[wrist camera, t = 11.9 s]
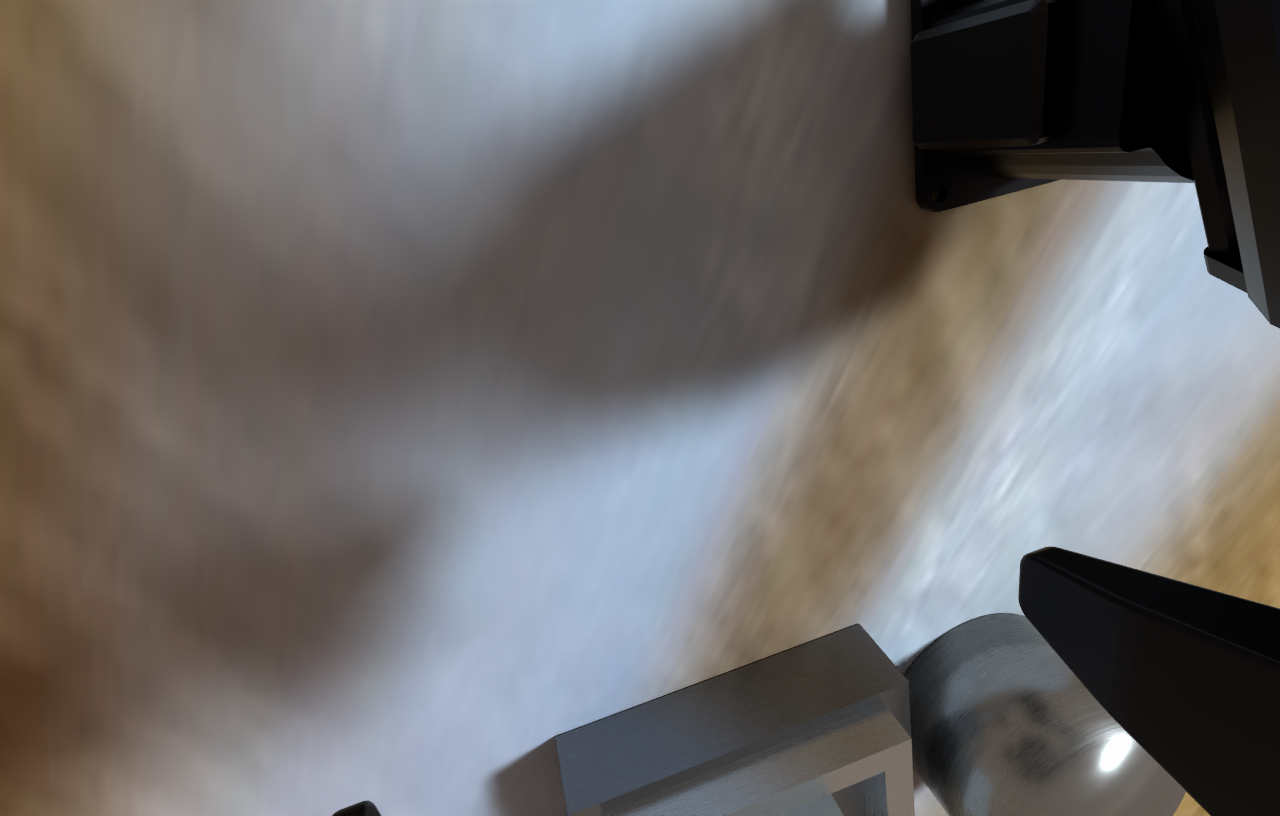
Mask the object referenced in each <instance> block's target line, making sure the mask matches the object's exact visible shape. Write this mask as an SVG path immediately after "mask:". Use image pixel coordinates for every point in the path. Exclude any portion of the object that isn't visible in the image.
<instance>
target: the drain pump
mask: <svg viewBox="0 0 1280 816" xmlns="http://www.w3.org/2000/svg"><path fill="white" fill-rule="evenodd" d="M778 816H844V815H843V814H842V812H841V810H840V808H839V807H838V805H837V803H836V802H835V800H834V798H833V796H832V795H831V794H829V795H827V796H824V797H822V798H819V799H817V800H815V801H812V802H810V803H807V804H805V805H803V806H800V807H798V808H795V809H793V810H790V811H788V812H786V813H783V814H781V815H778Z"/></svg>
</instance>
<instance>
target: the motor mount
mask: <svg viewBox="0 0 1280 816" xmlns="http://www.w3.org/2000/svg"><path fill="white" fill-rule="evenodd" d="M555 739H556V746H557V752H558V759H559V765H560V771H561V778H562V784H563V791H564V797H565V803H566V810H567V816H778V815H781V814H783V813H786V812H788V811H790V810H793V809H795V808H798V807H800V806H803V805H805V804H807V803H810V802H812V801H815V800H817V799H819V798H822V797H824V796H827V795H829V794H831V795H832V796H833V798H834V800H835V802H836V803H837V805H838V807H839V808H840V810H841V812H842V814H843V815H844V816H915V811H914V787H913V768H914V769H915V770H916V772H917V773H918V774H919V776H920V777H921V778H922V780H923V781H924V783H925V784H926V785H927V787H928V788H929V789H930V791H931V792H932V793H933V795H934V796H935V797H936V799H937V800H938V801H939V803H940V804H941V805H942V807H943V808H944V810H945V811H946V812H947V814H948V815H949V816H1173V814H1174V813H1175V811H1176V810H1177V808H1178V806H1179V804H1180V803H1181V801H1182V799H1183V797H1184V794H1185V792H1186V791H1185V790H1184V789H1183V788H1182V787H1181V786H1180V785H1179V784H1178V783H1177V782H1176V781H1175V780H1174V779H1173V778H1172V777H1171V776H1170V775H1169V774H1168V773H1167V772H1166V771H1165V770H1164V769H1163V768H1162V767H1161V766H1160V765H1159V764H1158V763H1157V762H1156V761H1155V760H1154V759H1153V758H1152V757H1151V756H1150V755H1149V754H1148V753H1147V752H1146V751H1145V750H1144V749H1143V748H1142V747H1141V746H1140V745H1139V744H1138V743H1137V742H1136V741H1135V740H1134V739H1133V738H1132V737H1131V736H1130V735H1129V734H1128V733H1127V732H1126V731H1125V730H1124V729H1123V728H1122V727H1121V726H1120V725H1119V724H1118V723H1117V722H1116V721H1115V720H1114V719H1113V718H1112V717H1111V716H1110V715H1109V713H1108V712H1107V711H1106V710H1105V709H1104V708H1103V707H1102V706H1101V705H1100V703H1099V702H1098V701H1097V700H1096V699H1095V698H1094V697H1093V696H1092V694H1091V693H1090V692H1089V691H1088V690H1087V689H1086V687H1085V686H1084V685H1083V684H1082V683H1081V681H1080V680H1079V679H1078V678H1077V677H1076V676H1075V674H1074V673H1073V672H1072V671H1071V670H1070V669H1069V667H1068V666H1067V665H1066V664H1065V663H1064V661H1063V660H1062V659H1061V658H1060V657H1059V656H1058V654H1057V653H1056V652H1055V651H1054V650H1053V649H1052V647H1051V646H1050V645H1049V644H1048V643H1047V641H1046V640H1045V639H1044V638H1043V637H1042V636H1041V634H1040V633H1039V632H1038V631H1037V630H1036V629H1035V627H1034V626H1033V625H1032V624H1031V623H1030V621H1029V620H1028V619H1027V618H1026V617H1025V616H1022V615H1018V614H1011V613H1000V614H992V615H987V616H983V617H979V618H976V619H973V620H971V621H969V622H966V623H964V624H962V625H960V626H958V627H956V628H954V629H953V630H951V631H949V632H948V633H946V634H945V635H943V636H942V637H940V638H939V639H938V640H936V641H935V642H934V643H933V644H932V645H930V646H929V647H928V648H927V649H926V650H925V651H924V652H923V653H922V654H921V655H920V656H919V657H918V658H917V659H916V660H915V662H914V663H913V664H912V665H911V666H910V668H909V669H908V671H907V672H906V673H905V675H903V674H902V673H901V672H900V671H899V670H898V668H897V667H896V666H895V665H894V664H893V663H892V661H891V660H890V659H889V658H888V657H887V656H886V654H885V653H884V652H883V651H882V650H881V649H880V647H879V646H878V645H877V644H876V643H875V641H874V640H873V639H872V638H871V637H870V636H869V634H868V633H867V632H866V631H865V630H864V629H863V627H862V626H861V625H860V624H857V625H854V626H851V627H849V628H846V629H843V630H841V631H838V632H835V633H833V634H830V635H827V636H825V637H822V638H819V639H817V640H814V641H811V642H809V643H806V644H803V645H800V646H798V647H795V648H792V649H790V650H787V651H784V652H782V653H779V654H776V655H774V656H771V657H768V658H766V659H763V660H760V661H757V662H755V663H752V664H749V665H747V666H744V667H741V668H739V669H736V670H733V671H731V672H728V673H725V674H723V675H720V676H717V677H715V678H712V679H709V680H706V681H704V682H701V683H698V684H696V685H693V686H690V687H688V688H685V689H682V690H680V691H677V692H674V693H672V694H669V695H666V696H664V697H661V698H658V699H655V700H653V701H650V702H647V703H645V704H642V705H639V706H637V707H634V708H631V709H629V710H626V711H623V712H621V713H618V714H615V715H613V716H610V717H607V718H604V719H602V720H599V721H596V722H594V723H591V724H588V725H586V726H583V727H580V728H578V729H575V730H572V731H570V732H567V733H564V734H562V735H559V736H556V737H555Z"/></svg>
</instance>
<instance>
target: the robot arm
mask: <svg viewBox="0 0 1280 816" xmlns="http://www.w3.org/2000/svg"><path fill="white" fill-rule="evenodd" d="M911 22H912V44H911V74H912V113H913V141H914V143H915V184H916V200H917V204H918V205H919V207H920V208H921V209H923V210H925V211H932V212H941V211H945V210H948V209H952V208H956V207H959V206H963V205H967V204H971V203H974V202H978V201H982V200H986V199H989V198H993V197H997V196H1001V195H1004V194H1008V193H1012V192H1016V191H1019V190H1023V189H1027V188H1031V187H1034V186H1038V185H1042V184H1046V183H1049V182H1053V181H1057V180H1061V179H1067V180H1103V181H1138V182H1174V183H1195V187H1196V192H1197V196H1198V201H1199V206H1200V210H1201V215H1202V220H1203V224H1204V229H1205V234H1206V239H1207V243H1208V247H1207V248H1206V249H1205V250H1204V257H1205V262H1206V267H1207V271H1208V273H1209V274H1211V275H1213V276H1215V277H1217V278H1219V279H1221V280H1223V281H1225V282H1227V283H1228V284H1230V285H1232V286H1234V287H1236V288H1238V289H1240V290H1242V291H1244V292H1246V293H1248V297H1249V298H1250V299H1251V301H1252V302H1253V303H1254V304H1255V306H1256V307H1257V308H1258V309H1259V311H1260V312H1261V313H1262V314H1263V315H1264V317H1265V318H1266V319H1267V320H1268V322H1269V323H1270V324H1272V325H1274V326H1276V327H1278V328H1280V0H911ZM936 186H938V190H939V193H938V196H937V198H936V199H935V200H933V196H932V195H933V191H934V189H935V188H936ZM1019 604H1020V607H1021V609H1022V611H1023V613H1024V615H1025V616H1026V618H1027V619H1028V620H1029V621H1030V623H1031V624H1032V625H1033V626H1034V627H1035V629H1036V630H1037V631H1038V632H1039V633H1040V634H1041V636H1042V637H1043V638H1044V639H1045V640H1046V641H1047V643H1048V644H1049V645H1050V646H1051V647H1052V649H1053V650H1054V651H1055V652H1056V653H1057V654H1058V656H1059V657H1060V658H1061V659H1062V660H1063V661H1064V663H1065V664H1066V665H1067V666H1068V667H1069V669H1070V670H1071V671H1072V672H1073V673H1074V674H1075V676H1076V677H1077V678H1078V679H1079V680H1080V681H1081V683H1082V684H1083V685H1084V686H1085V687H1086V689H1087V690H1088V691H1089V692H1090V693H1091V694H1092V696H1093V697H1094V698H1095V699H1096V700H1097V701H1098V702H1099V703H1100V705H1101V706H1102V707H1103V708H1104V709H1105V710H1106V711H1107V712H1108V713H1109V715H1110V716H1111V717H1112V718H1113V719H1114V720H1115V721H1116V722H1117V723H1118V724H1119V725H1120V726H1121V727H1122V728H1123V729H1124V730H1125V731H1126V732H1127V733H1128V734H1129V735H1130V736H1131V737H1132V738H1133V739H1134V740H1135V741H1136V742H1137V743H1138V744H1139V745H1140V746H1141V747H1142V748H1143V749H1144V750H1145V751H1146V752H1147V753H1148V754H1149V755H1150V756H1151V757H1152V758H1153V759H1154V760H1155V761H1156V762H1157V763H1158V764H1159V765H1160V766H1161V767H1162V768H1163V769H1164V770H1165V771H1166V772H1167V773H1168V774H1169V775H1170V776H1171V777H1172V778H1173V779H1174V780H1175V781H1176V782H1177V783H1178V784H1179V785H1180V786H1181V787H1182V788H1183V789H1184V790H1185V791H1186V792H1187V793H1188V794H1189V795H1190V796H1191V797H1192V798H1193V799H1194V800H1195V801H1196V802H1197V803H1198V804H1199V805H1200V806H1201V807H1203V808H1204V809H1205V810H1206V811H1207V812H1208V813H1209V814H1210V815H1211V816H1280V609H1279V608H1275V607H1271V606H1268V605H1264V604H1261V603H1257V602H1253V601H1250V600H1246V599H1242V598H1239V597H1235V596H1232V595H1228V594H1224V593H1221V592H1217V591H1213V590H1210V589H1206V588H1203V587H1199V586H1195V585H1192V584H1188V583H1184V582H1181V581H1177V580H1174V579H1170V578H1166V577H1163V576H1159V575H1155V574H1152V573H1148V572H1145V571H1141V570H1137V569H1134V568H1130V567H1126V566H1123V565H1119V564H1115V563H1112V562H1108V561H1105V560H1101V559H1097V558H1094V557H1090V556H1086V555H1083V554H1079V553H1076V552H1072V551H1068V550H1065V549H1061V548H1057V547H1045V548H1042V549H1039V550H1036V551H1034V552H1031V553H1028V554H1026V555H1025V556H1023V558H1022V559H1021V563H1020V578H1019ZM332 816H381V814H380V813H379V811H378V809H377V807H376V806H375V805H374V804H373V803H372V802H371V801H363V802H360V803H357V804H354V805H352V806H349V807H346V808H344V809H341V810H339V811H337V812H336V813H334V814H333V815H332Z"/></svg>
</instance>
